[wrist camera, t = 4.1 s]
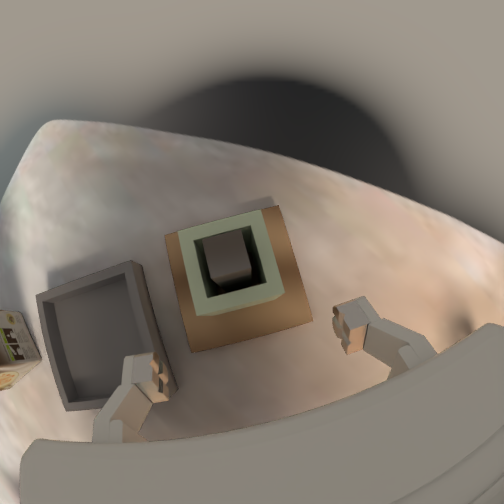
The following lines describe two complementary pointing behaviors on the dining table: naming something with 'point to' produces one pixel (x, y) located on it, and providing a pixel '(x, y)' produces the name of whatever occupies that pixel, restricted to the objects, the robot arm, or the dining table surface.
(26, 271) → the dining table surface
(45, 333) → the tray
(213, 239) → the square peg stand
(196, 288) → the collar
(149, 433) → the dining table surface
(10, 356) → the coffee box
